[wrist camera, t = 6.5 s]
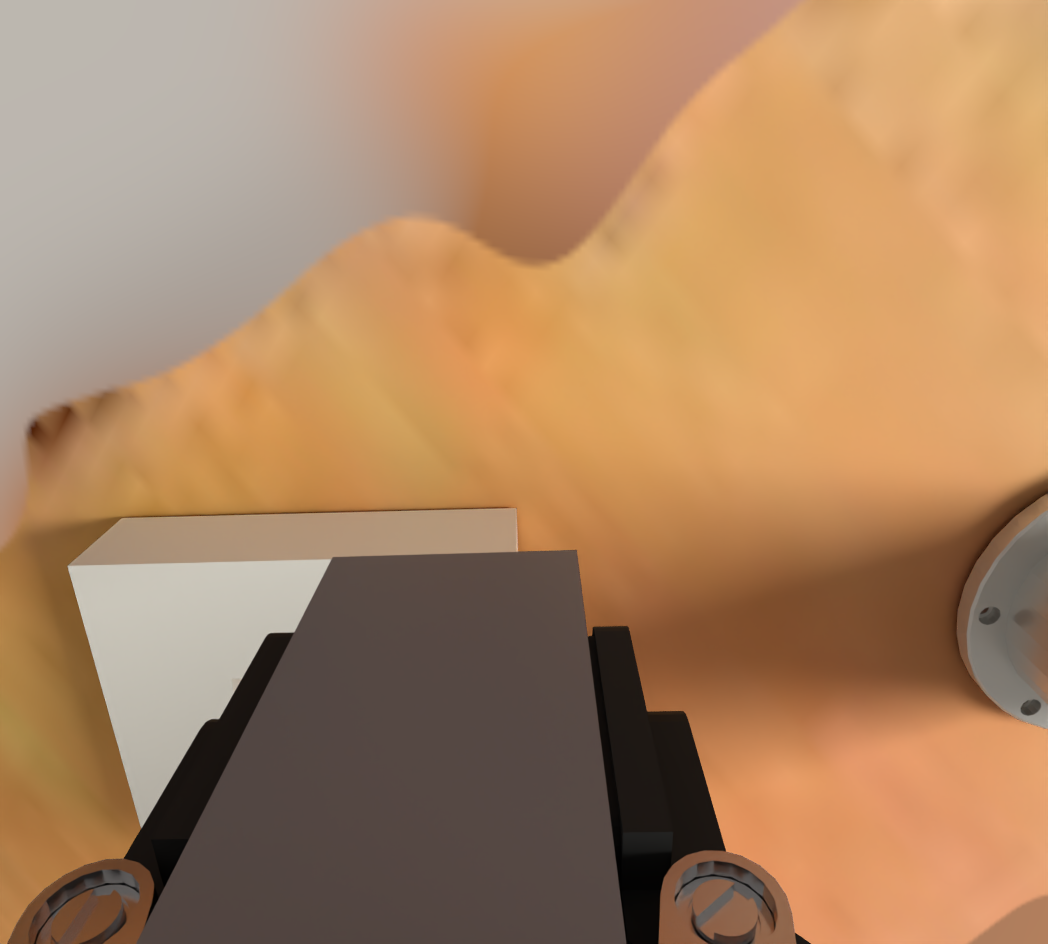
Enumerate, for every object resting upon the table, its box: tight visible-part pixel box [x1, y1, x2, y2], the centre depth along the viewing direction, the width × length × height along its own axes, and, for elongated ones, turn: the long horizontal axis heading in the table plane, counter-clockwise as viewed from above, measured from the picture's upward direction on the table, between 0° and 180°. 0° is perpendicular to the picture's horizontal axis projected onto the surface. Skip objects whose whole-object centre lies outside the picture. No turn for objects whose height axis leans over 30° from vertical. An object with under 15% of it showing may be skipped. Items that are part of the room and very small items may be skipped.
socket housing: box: [68, 508, 518, 828], centre depth 32 cm, size 16×16×4 cm
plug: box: [136, 550, 626, 944], centre depth 9 cm, size 4×4×8 cm
